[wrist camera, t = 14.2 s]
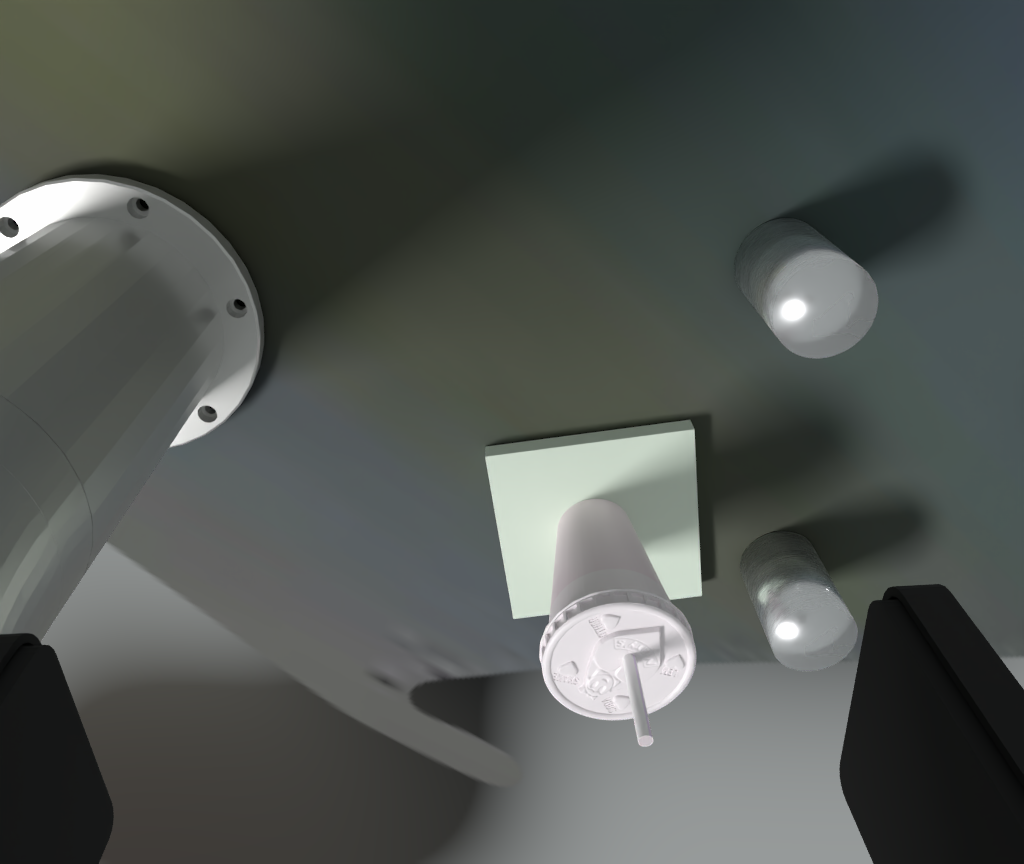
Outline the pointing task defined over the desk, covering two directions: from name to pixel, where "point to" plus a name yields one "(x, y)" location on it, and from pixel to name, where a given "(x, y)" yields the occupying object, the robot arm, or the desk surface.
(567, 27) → the desk surface
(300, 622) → the desk surface
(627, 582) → the smoothie
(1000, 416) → the desk surface
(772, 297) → the set of grey cylinders
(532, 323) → the desk surface
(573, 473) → the coaster mat
